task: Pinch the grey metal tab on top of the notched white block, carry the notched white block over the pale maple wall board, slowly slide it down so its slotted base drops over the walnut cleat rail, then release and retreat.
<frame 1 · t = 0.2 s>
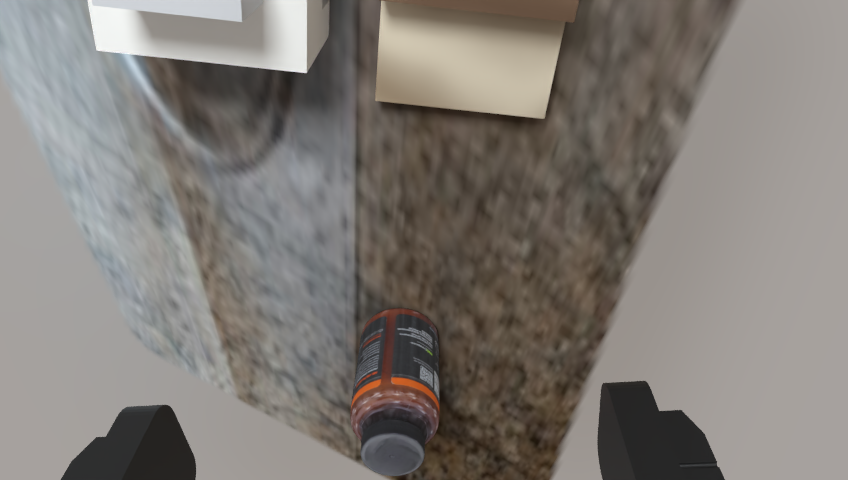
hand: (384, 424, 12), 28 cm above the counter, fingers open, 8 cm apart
supplement bottle: (400, 332, 48), on the counter
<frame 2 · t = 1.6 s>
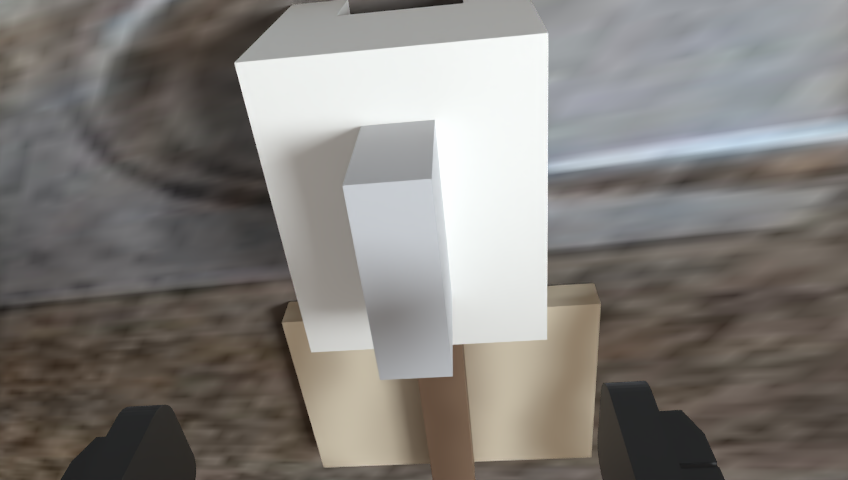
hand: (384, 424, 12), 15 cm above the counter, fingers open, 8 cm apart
wall board: (447, 372, 31), on the counter
notched white block: (419, 127, 24), on the counter
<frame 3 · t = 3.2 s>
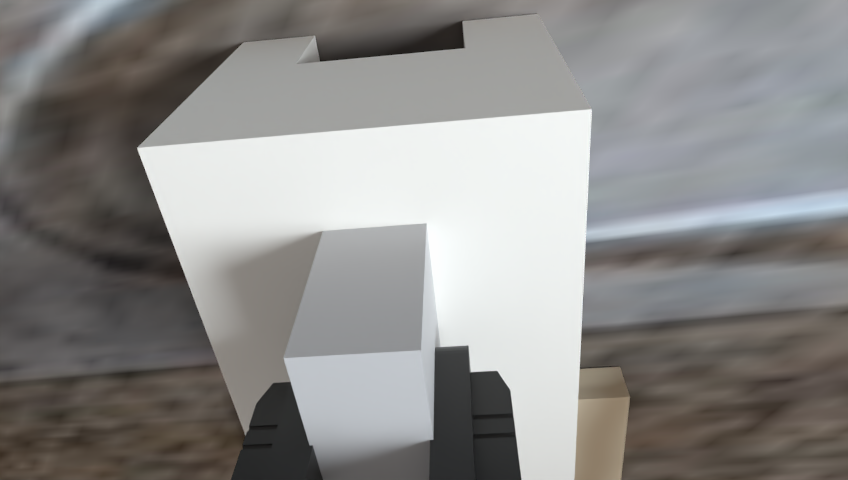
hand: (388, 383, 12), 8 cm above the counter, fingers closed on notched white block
wall board: (443, 461, 26), on the counter
notched white block: (408, 192, 19), on the counter, touching gripper
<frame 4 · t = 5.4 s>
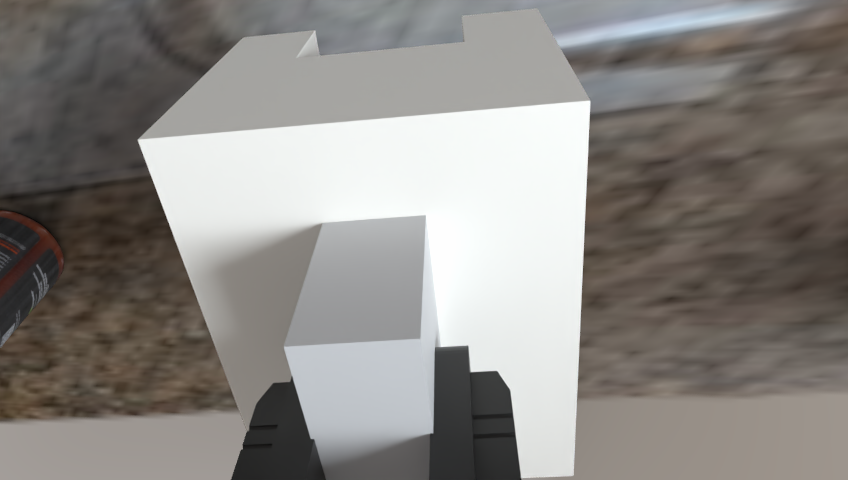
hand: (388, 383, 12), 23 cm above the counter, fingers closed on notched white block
notched white block: (408, 187, 19), point 15 cm above the counter, touching gripper
supplement bottle: (20, 245, 39), on the counter
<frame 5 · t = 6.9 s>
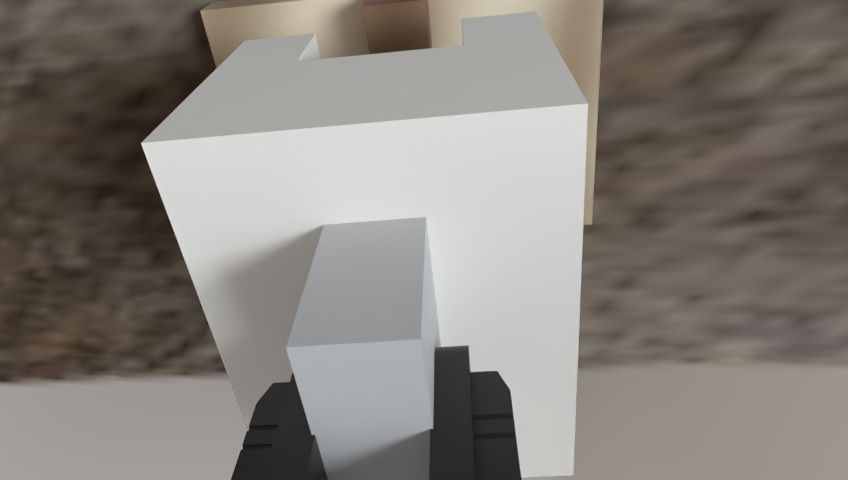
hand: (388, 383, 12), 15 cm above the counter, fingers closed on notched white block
wall board: (414, 112, 25), on the counter
notched white block: (408, 188, 19), point 7 cm above the counter, touching gripper
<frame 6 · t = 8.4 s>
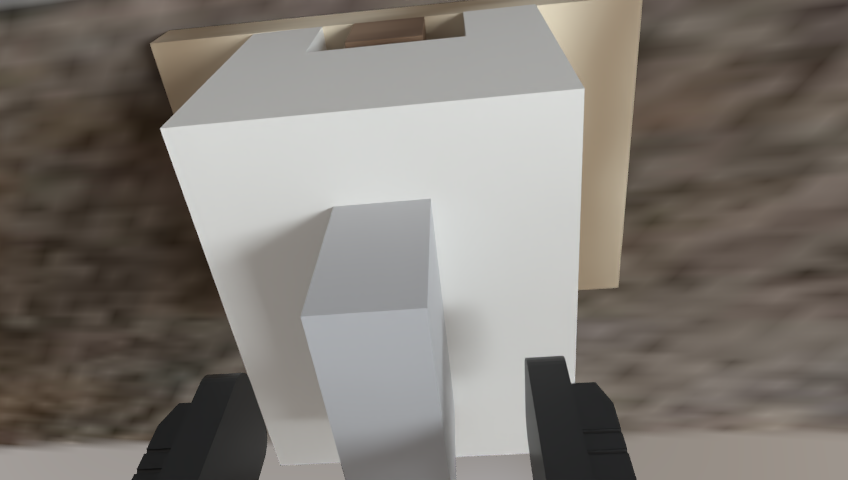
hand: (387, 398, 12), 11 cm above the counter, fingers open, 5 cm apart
wall board: (411, 158, 21), on the counter
notched white block: (412, 177, 20), point 1 cm above the counter, touching wall board
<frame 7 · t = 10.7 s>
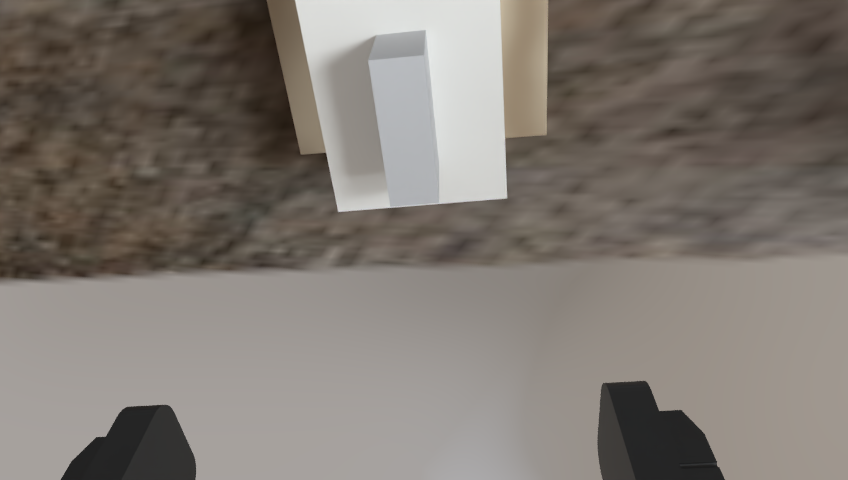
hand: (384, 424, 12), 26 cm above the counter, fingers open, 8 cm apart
wall board: (413, 48, 34), on the counter
notched white block: (415, 56, 32), point 1 cm above the counter, touching wall board
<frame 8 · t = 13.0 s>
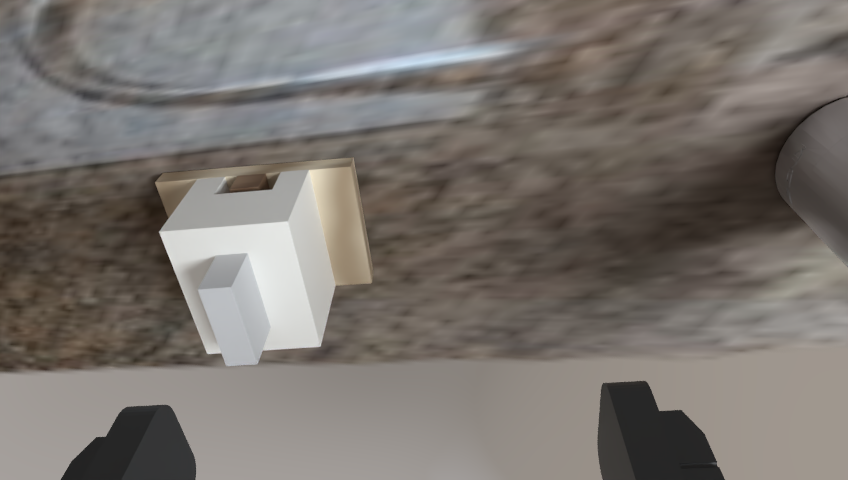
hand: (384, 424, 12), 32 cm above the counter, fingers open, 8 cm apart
wall board: (273, 224, 47), on the counter
notched white block: (270, 234, 46), point 1 cm above the counter, touching wall board
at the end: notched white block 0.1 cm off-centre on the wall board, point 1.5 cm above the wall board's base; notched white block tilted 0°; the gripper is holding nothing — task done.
